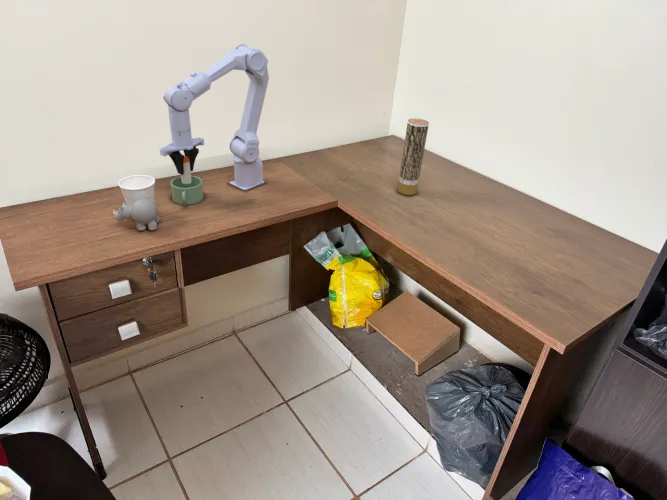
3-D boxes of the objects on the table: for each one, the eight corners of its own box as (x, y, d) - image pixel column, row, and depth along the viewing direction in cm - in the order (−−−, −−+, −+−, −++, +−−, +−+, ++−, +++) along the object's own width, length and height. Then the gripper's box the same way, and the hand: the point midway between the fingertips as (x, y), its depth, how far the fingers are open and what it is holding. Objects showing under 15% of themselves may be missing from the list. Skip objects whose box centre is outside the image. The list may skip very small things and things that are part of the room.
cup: (117, 219, 139) (109, 184, 134) (140, 205, 147) (134, 172, 141) (145, 226, 137) (139, 192, 131) (167, 212, 145) (162, 178, 139)
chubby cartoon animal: (119, 220, 139) (114, 194, 134) (162, 220, 140) (158, 194, 136) (112, 233, 133) (106, 206, 128) (157, 233, 134) (153, 206, 130)
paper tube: (416, 188, 171) (428, 119, 157) (416, 197, 165) (429, 126, 152) (397, 186, 171) (407, 117, 158) (397, 195, 165) (408, 124, 152)
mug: (175, 190, 157) (173, 175, 154) (205, 191, 158) (204, 175, 155) (168, 208, 147) (166, 192, 144) (201, 208, 148) (199, 192, 145)
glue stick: (187, 179, 153) (185, 155, 148) (193, 182, 151) (191, 158, 147) (179, 182, 150) (176, 157, 146) (185, 185, 149) (183, 160, 145)
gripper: (168, 138, 135) (173, 182, 142) (209, 127, 145) (212, 169, 152) (153, 132, 138) (159, 175, 146) (194, 121, 148) (198, 163, 155)
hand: (185, 172), depth 149 cm, fingers closed on glue stick, 3 cm apart
